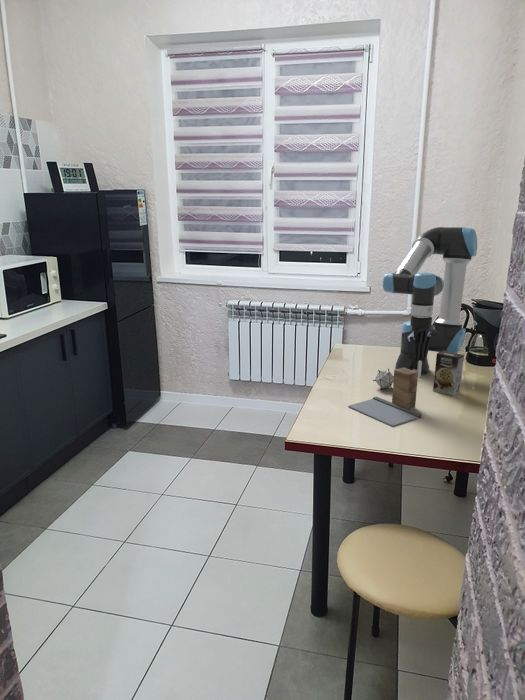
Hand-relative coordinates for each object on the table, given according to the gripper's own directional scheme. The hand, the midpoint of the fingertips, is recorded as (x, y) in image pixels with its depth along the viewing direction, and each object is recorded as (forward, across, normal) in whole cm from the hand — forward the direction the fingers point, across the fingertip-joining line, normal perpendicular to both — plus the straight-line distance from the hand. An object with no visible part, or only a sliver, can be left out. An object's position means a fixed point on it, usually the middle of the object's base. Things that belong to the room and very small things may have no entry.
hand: (416, 376), depth 195 cm
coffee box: (+11, +21, +1) cm, 24 cm away
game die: (+11, +3, +18) cm, 21 cm away
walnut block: (+11, -6, 0) cm, 12 cm away
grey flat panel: (+11, -16, 0) cm, 20 cm away
